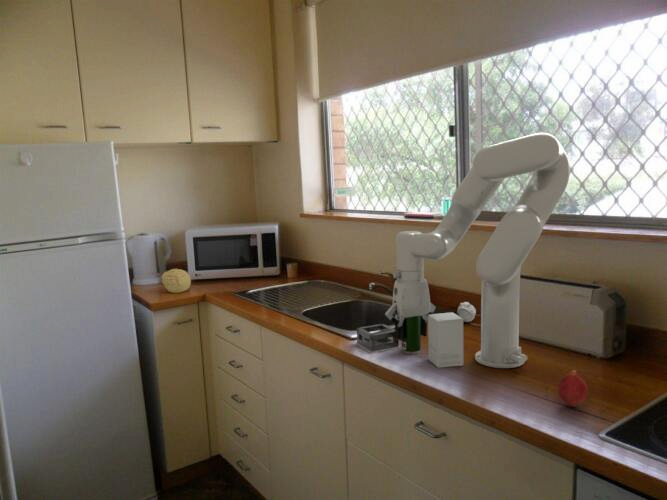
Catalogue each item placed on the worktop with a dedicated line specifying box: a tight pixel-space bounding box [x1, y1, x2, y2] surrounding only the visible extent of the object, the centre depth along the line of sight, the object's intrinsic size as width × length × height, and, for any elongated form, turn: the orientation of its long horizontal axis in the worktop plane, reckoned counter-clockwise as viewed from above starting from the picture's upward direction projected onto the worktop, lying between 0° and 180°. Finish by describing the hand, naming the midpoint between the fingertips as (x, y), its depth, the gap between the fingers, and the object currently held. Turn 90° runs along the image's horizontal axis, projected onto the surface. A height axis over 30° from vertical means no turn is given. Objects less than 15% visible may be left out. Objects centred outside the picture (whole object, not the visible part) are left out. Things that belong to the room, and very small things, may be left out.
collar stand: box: [355, 323, 401, 354], centre depth 157 cm, size 10×10×5 cm
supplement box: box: [427, 311, 465, 369], centre depth 141 cm, size 7×7×13 cm
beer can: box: [401, 316, 422, 355], centre depth 150 cm, size 5×5×12 cm
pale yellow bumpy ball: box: [161, 268, 192, 294], centre depth 244 cm, size 11×12×11 cm
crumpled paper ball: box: [456, 301, 477, 323], centre depth 178 cm, size 6×7×7 cm
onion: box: [557, 370, 589, 408], centre depth 112 cm, size 6×6×8 cm
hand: (411, 336), depth 151 cm, fingers open, 6 cm apart
